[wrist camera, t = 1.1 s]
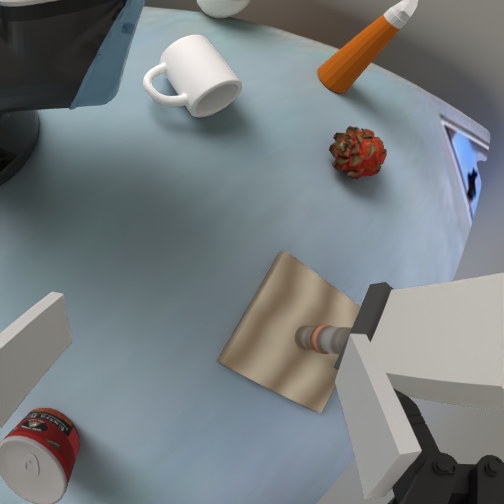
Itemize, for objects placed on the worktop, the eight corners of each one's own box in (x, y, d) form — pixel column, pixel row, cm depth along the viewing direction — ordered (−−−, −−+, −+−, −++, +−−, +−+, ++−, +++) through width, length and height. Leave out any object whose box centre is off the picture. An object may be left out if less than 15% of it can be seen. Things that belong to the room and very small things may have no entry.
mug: (200, 64, 43) (213, 29, 36) (232, 107, 43) (251, 75, 36) (131, 86, 38) (135, 49, 31) (160, 135, 39) (168, 100, 31)
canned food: (78, 411, 29) (59, 447, 19) (83, 466, 27) (72, 512, 17) (22, 400, 26) (-13, 428, 16) (29, 455, 25) (4, 495, 15)
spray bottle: (352, 72, 56) (433, -1, 32) (343, 100, 52) (438, 18, 28) (325, 53, 54) (401, -28, 30) (312, 79, 51) (401, -14, 27)
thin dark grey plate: (333, 367, 24) (348, 370, 22) (370, 284, 26) (385, 282, 24) (388, 398, 25) (403, 401, 23) (418, 324, 28) (432, 324, 26)
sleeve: (359, 367, 22) (500, 385, 11) (391, 289, 24) (521, 269, 13) (407, 396, 23) (524, 413, 12) (432, 326, 25) (544, 320, 14)
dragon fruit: (311, 170, 48) (351, 157, 54) (354, 197, 44) (389, 179, 50) (323, 122, 42) (363, 116, 49) (371, 146, 38) (404, 137, 44)
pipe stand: (216, 360, 36) (503, 481, 5) (278, 253, 42) (539, 145, 10) (313, 410, 39) (547, 483, 8) (360, 313, 45) (587, 290, 14)
